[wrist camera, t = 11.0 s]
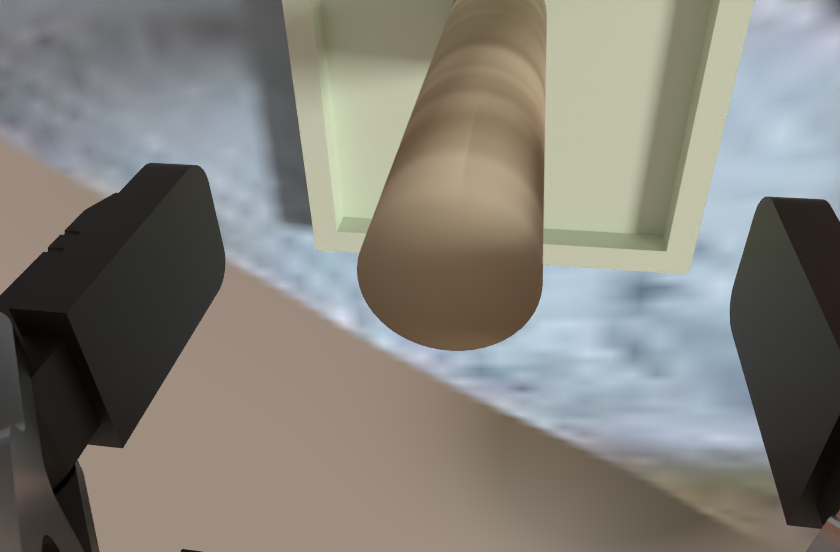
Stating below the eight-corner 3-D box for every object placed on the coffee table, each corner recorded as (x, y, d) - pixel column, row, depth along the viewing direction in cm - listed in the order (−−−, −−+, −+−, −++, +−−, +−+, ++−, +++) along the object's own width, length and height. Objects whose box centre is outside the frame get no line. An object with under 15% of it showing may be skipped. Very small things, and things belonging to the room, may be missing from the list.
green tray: (259, -332, 16) (235, -337, 15) (820, -360, 15) (843, -368, 14) (327, 226, 25) (315, 250, 24) (681, 247, 24) (688, 274, 22)
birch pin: (449, -31, 19) (347, 198, 10) (549, -33, 19) (546, 202, 9) (452, 65, 21) (367, 345, 11) (544, 65, 20) (538, 355, 11)
